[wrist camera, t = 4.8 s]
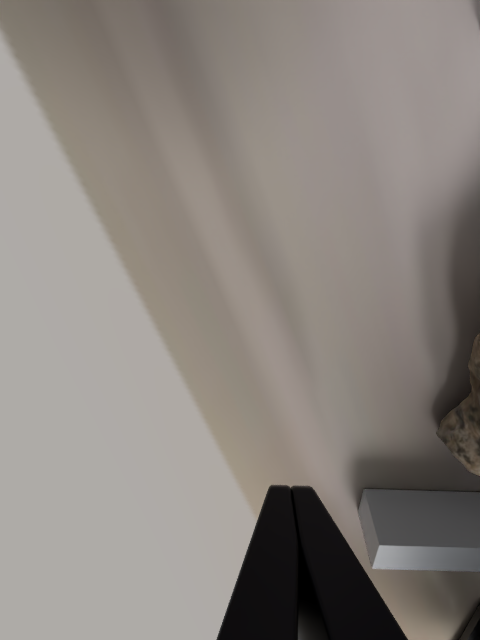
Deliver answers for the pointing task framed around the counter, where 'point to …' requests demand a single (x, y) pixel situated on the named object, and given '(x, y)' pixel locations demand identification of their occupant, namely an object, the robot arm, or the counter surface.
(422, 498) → the bay
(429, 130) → the counter surface
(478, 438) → the rock
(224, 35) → the counter surface
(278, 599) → the robot arm
